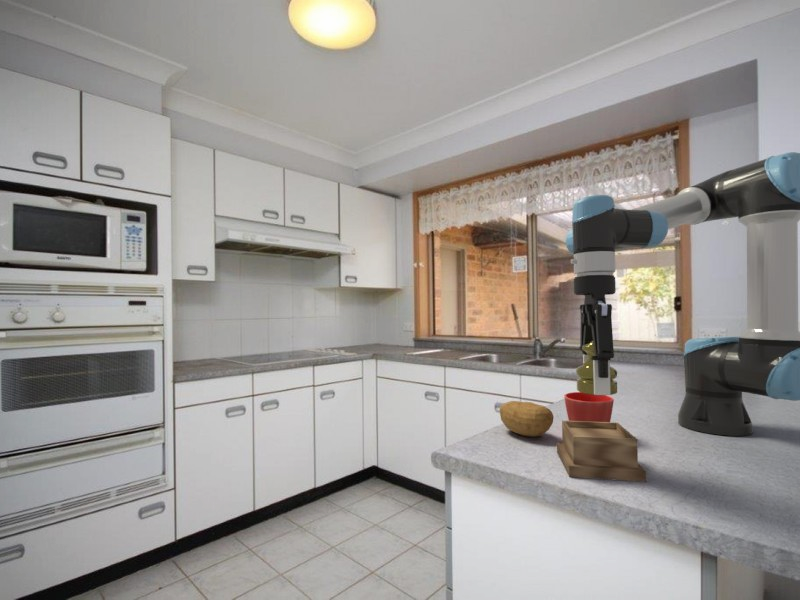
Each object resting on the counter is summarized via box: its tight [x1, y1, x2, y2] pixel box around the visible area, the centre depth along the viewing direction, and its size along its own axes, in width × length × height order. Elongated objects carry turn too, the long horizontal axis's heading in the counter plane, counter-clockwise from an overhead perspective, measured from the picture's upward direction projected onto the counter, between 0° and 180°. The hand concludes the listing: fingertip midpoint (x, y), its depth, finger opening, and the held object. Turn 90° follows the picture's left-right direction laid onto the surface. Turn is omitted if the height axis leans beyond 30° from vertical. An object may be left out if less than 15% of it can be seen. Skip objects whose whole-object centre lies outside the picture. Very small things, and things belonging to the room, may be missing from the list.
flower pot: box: [563, 391, 614, 422], centre depth 99 cm, size 11×11×10 cm
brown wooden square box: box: [556, 419, 647, 482], centre depth 81 cm, size 13×13×7 cm
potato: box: [499, 400, 554, 438], centre depth 101 cm, size 10×14×8 cm
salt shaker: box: [575, 341, 618, 396], centre depth 81 cm, size 7×7×10 cm
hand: (596, 390), depth 81 cm, fingers closed on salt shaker, 7 cm apart
